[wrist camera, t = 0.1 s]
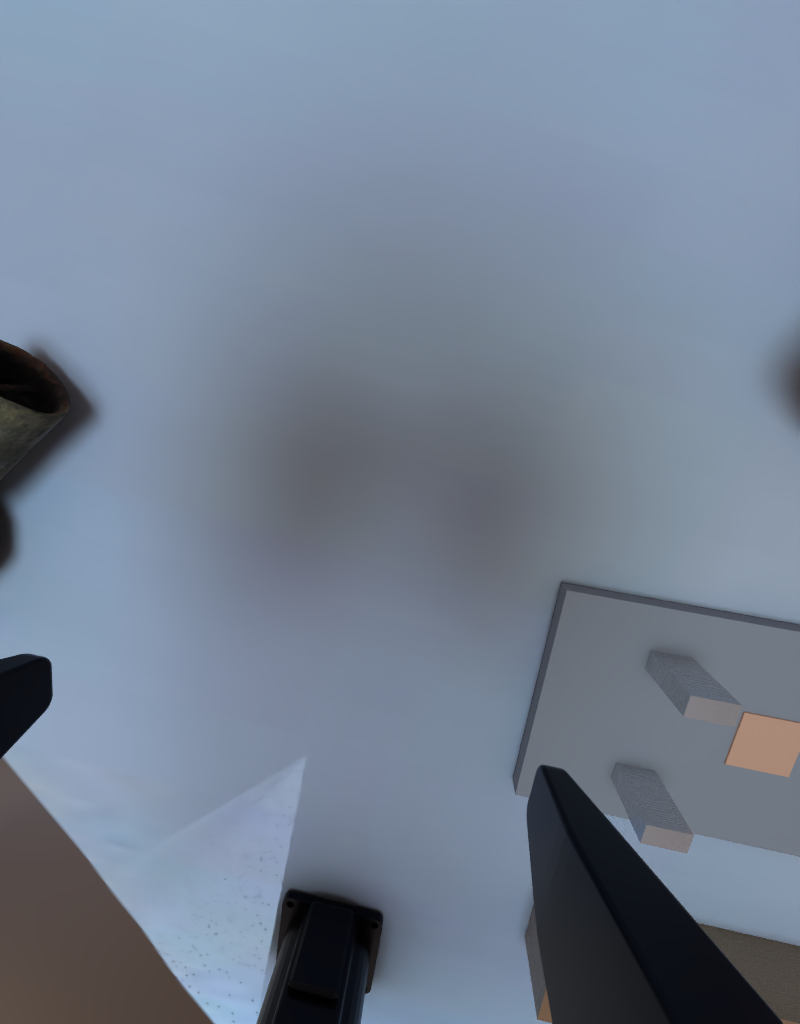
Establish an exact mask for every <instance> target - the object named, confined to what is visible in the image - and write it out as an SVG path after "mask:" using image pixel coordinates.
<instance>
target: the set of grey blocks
mask: <svg viewBox="0 0 800 1024" xmlns="http://www.w3.org/2000/svg"><path fill="white" fill-rule="evenodd" d="M645 669H646V671H647V672H648V673H649V674H650V676H651V677H652V678H653V679H654V681H655V682H656V683H657V684H658V686H659V687H660V688H661V689H662V691H663V692H664V693H665V694H666V696H667V697H668V698H669V699H670V701H671V702H672V703H673V704H674V706H675V707H676V708H677V709H678V711H679V712H680V713H681V714H682V716H683V717H687V718H692V719H697V720H702V721H707V722H712V723H717V724H722V725H727V726H732V727H735V725H736V722H737V720H738V717H739V714H740V712H741V709H742V706H743V705H741V704H740V703H739V702H738V701H737V700H736V699H735V698H734V697H733V696H732V695H731V694H730V693H729V692H728V691H727V690H726V689H725V688H724V687H723V686H722V685H721V684H720V683H719V682H718V681H717V680H715V679H714V678H713V677H712V676H711V675H710V674H709V673H708V672H707V671H706V670H705V669H704V668H703V667H702V666H701V665H700V664H699V663H698V662H697V661H696V660H695V659H694V658H690V657H684V656H679V655H674V654H668V653H663V652H658V651H652V650H650V653H649V656H648V660H647V663H646V666H645ZM611 780H612V782H613V784H614V786H615V789H616V791H617V793H618V795H619V797H620V800H621V802H622V804H623V806H624V808H625V811H626V813H627V815H628V817H629V819H630V822H631V824H632V826H633V828H634V830H635V832H636V835H637V837H638V839H639V841H640V843H643V844H647V845H652V846H656V847H661V848H665V849H670V850H674V851H679V852H683V853H687V852H688V850H689V847H690V844H691V842H692V839H693V836H694V834H693V833H692V831H691V829H690V828H689V826H688V824H687V823H686V821H685V819H684V818H683V816H682V814H681V813H680V811H679V809H678V808H677V806H676V804H675V802H674V801H673V799H672V797H671V796H670V794H669V792H668V791H667V789H666V787H665V786H664V784H663V782H662V781H661V779H660V777H659V776H658V774H657V772H656V771H655V770H651V769H646V768H641V767H636V766H632V765H627V764H622V763H617V762H616V763H615V766H614V769H613V772H612V776H611Z"/></svg>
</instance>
